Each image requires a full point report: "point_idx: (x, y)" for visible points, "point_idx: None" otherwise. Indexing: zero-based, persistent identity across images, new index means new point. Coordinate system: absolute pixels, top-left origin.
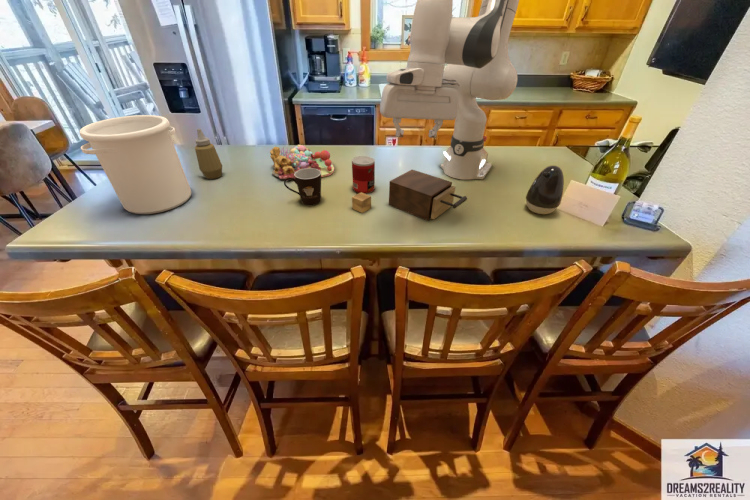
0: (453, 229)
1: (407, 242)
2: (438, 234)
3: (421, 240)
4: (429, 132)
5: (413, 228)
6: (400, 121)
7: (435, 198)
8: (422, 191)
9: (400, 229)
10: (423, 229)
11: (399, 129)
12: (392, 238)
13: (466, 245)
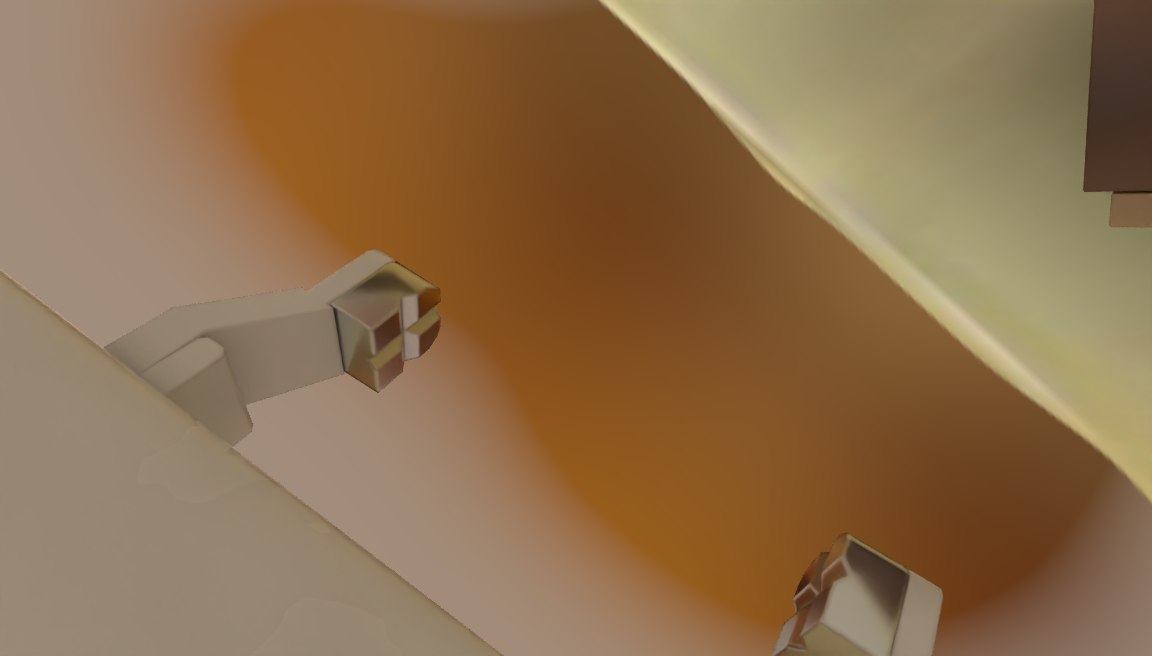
0: (1137, 278)
1: (798, 156)
2: (997, 234)
3: (867, 196)
4: (821, 591)
5: (939, 86)
6: (235, 437)
7: (1128, 207)
8: (1124, 75)
9: (864, 37)
10: (979, 139)
11: (321, 366)
12: (763, 77)
13: (1006, 378)
